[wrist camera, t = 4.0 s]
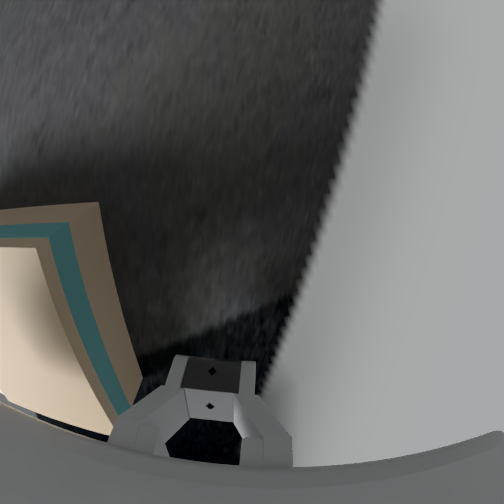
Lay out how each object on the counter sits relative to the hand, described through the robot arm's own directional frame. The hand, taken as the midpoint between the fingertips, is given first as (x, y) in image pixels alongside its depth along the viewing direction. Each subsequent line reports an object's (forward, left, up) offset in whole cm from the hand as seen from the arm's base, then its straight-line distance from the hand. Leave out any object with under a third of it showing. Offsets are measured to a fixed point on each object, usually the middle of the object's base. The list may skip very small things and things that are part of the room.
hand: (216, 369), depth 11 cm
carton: (0, -9, -3) cm, 9 cm away
